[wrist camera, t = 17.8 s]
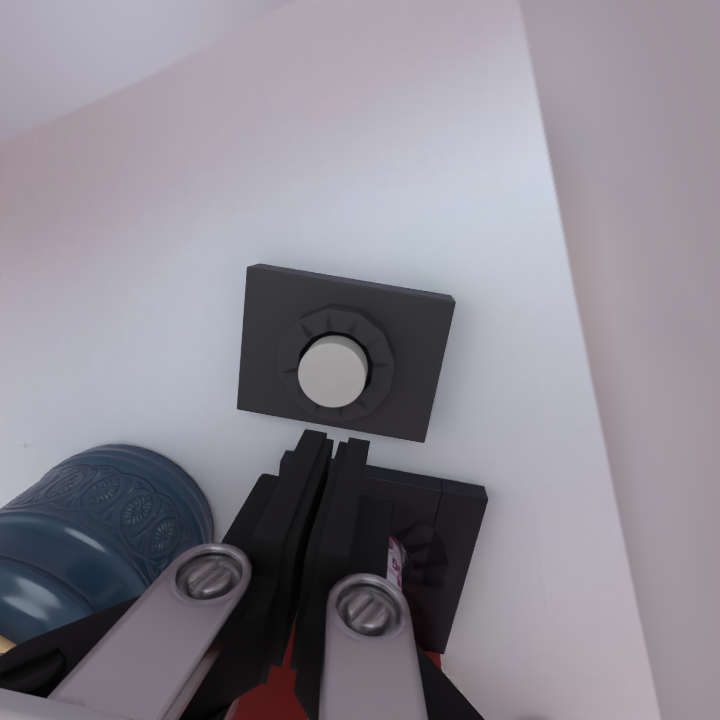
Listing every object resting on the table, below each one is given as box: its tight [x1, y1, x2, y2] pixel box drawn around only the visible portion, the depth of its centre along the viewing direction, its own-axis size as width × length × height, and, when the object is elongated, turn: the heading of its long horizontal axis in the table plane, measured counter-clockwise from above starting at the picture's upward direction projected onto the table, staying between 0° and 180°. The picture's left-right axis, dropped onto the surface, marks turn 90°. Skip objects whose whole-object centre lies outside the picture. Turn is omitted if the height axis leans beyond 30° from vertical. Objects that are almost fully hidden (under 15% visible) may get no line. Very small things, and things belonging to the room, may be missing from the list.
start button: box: [298, 335, 368, 407], centre depth 24 cm, size 4×4×2 cm
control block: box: [237, 264, 455, 443], centre depth 26 cm, size 12×9×4 cm
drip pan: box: [279, 450, 488, 654], centre depth 32 cm, size 14×14×2 cm
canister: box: [0, 445, 213, 653], centre depth 25 cm, size 13×13×18 cm
